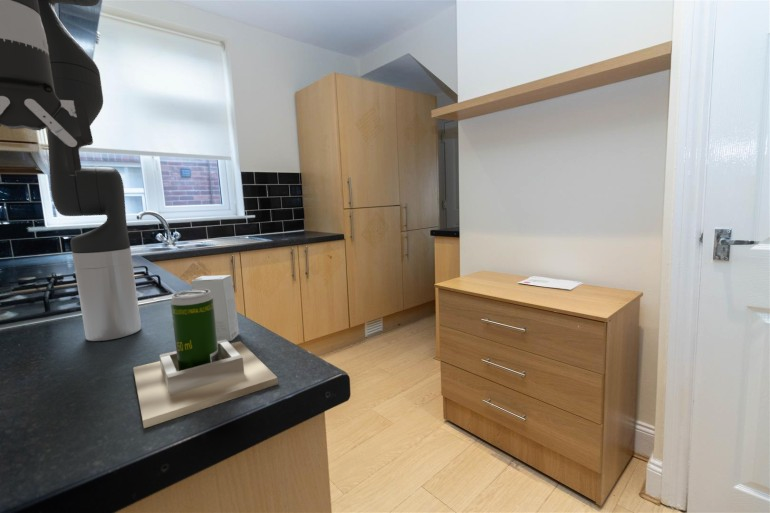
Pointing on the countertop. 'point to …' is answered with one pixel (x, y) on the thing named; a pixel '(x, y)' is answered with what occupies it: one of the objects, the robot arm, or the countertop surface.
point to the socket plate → (198, 382)
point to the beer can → (194, 328)
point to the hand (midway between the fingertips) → (32, 175)
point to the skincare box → (221, 304)
